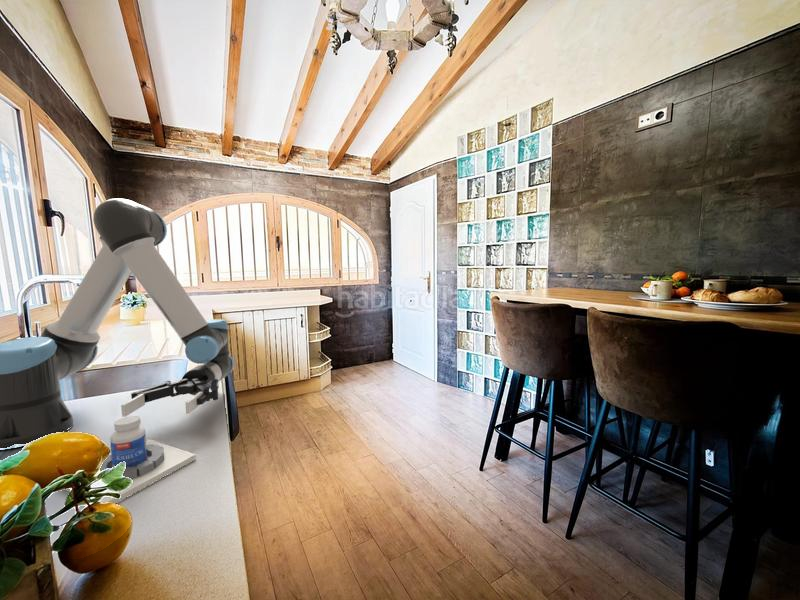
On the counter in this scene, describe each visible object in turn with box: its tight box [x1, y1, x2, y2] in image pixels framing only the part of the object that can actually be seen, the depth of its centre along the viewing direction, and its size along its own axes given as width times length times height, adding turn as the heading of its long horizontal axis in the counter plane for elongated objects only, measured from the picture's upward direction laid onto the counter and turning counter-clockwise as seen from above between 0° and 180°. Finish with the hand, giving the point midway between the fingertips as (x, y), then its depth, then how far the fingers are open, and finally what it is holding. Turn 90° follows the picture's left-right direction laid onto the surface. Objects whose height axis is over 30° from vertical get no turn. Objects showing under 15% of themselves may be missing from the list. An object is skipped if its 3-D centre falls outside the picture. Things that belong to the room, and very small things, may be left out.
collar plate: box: [65, 439, 197, 504], centre depth 66 cm, size 16×16×3 cm
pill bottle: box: [109, 415, 147, 468], centre depth 65 cm, size 6×5×10 cm
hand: (155, 409), depth 74 cm, fingers open, 13 cm apart
